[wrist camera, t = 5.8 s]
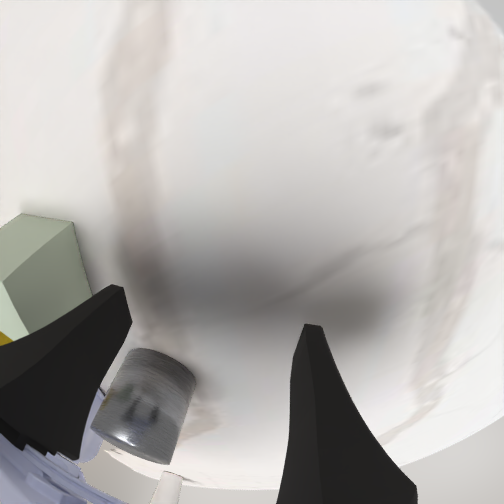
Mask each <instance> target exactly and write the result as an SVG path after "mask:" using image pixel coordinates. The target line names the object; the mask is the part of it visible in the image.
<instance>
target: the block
mask: <svg viewBox="0 0 504 504" xmlns="http://www.w3.org/2000/svg"><path fill="white" fill-rule="evenodd" d="M91 297H92V293H91V290H90V286H89V283H88V280H87V277H86V273H85V270H84V266H83V263H82V259H81V255H80V251H79V247H78V243H77V239H76V235H75V230H74V225H73V222H69V221H62V220H56V219H50V218H44V217H38V216H32V215H26V214H20V215H18V216H17V217H15V218H14V219H12V220H11V221H9V222H8V223H7V224H5V225H4V226H2V227H1V228H0V331H1V332H2V333H4V334H5V335H6V336H8V337H9V338H10V339H12V340H13V341H15V340H17V339H20V338H22V337H24V336H27V335H29V334H31V333H33V332H35V331H37V330H39V329H41V328H43V327H45V326H46V325H48V324H50V323H52V322H53V321H55V320H56V319H58V318H60V317H61V316H63V315H64V314H66V313H68V312H69V311H71V310H72V309H74V308H75V307H77V306H78V305H80V304H81V303H83V302H84V301H86V300H88V299H89V298H91Z"/></svg>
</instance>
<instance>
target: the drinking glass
mask: <svg viewBox="0 0 504 504" xmlns="http://www.w3.org/2000/svg"><path fill="white" fill-rule="evenodd" d="M182 481H183V478H182V477H181V476H179V475H176V474H173V473H170V472H165V471H164V472H163V473H162V475H161V478H160V481H159V483H158V485H157V488H156V490H155V492H154V494H153V497H152V499H151V501H150V503H149V504H178V500H179V494H180V490H181V485H182Z"/></svg>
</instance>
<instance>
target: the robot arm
mask: <svg viewBox="0 0 504 504" xmlns="http://www.w3.org/2000/svg"><path fill="white" fill-rule="evenodd" d="M131 325H132V319H131V315H130V311H129V308H128V304H127V300H126V296H125V292H124V288H123V287H120V286H116V285H113V284H111V285H110V286H108V287H106V288H104V289H103V290H101V291H100V292H98V293H97V294H95V295H94V296H92V297H91V298H89V299H88V300H86V301H84V302H83V303H81V304H80V305H78V306H77V307H75V308H74V309H72V310H71V311H69V312H68V313H66V314H64V315H63V316H61V317H60V318H58V319H56V320H55V321H53V322H52V323H50V324H48V325H46V326H45V327H43V328H41V329H39V330H37V331H35V332H33V333H31V334H29V335H27V336H24V337H22V338H20V339H17V340H15V341H13V342H10V343H7V344H4V345H1V346H0V501H1V503H0V504H87V501H86V500H88V501H90V502H91V503H93V504H128V503H126V502H123V501H121V500H119V499H117V498H114V497H112V496H110V495H108V494H106V493H104V492H102V491H100V490H98V489H97V488H95V487H93V486H91V485H89V484H87V483H86V480H85V478H84V475H83V473H82V472H81V471H80V470H81V468H79V467H78V466H77V465H75V464H74V463H76V464H78V463H79V462H88V461H90V460H92V459H93V458H94V457H95V456H96V455H97V453H98V451H99V449H100V446H101V444H102V442H103V440H104V439H103V438H101V437H100V436H99V435H97V434H96V433H95V432H94V431H93V430H92V429H91V428H90V426H91V423H92V421H93V419H94V417H95V415H96V413H97V411H98V409H99V407H100V405H101V403H102V401H103V399H104V395H103V394H102V392H101V391H100V389H99V386H100V384H101V382H102V380H103V378H104V376H105V375H106V373H107V371H108V369H109V368H110V366H111V364H112V362H113V361H114V359H115V357H116V355H117V354H118V352H119V350H120V348H121V347H122V345H123V343H124V341H125V339H126V337H127V334H128V332H129V329H130V327H131ZM60 454H61V455H62V456H64V457H66V458H68V459H69V460H71V461H72V462H74V463H72V462H70V461H69V460H67V459H66V458H64V457H62V456H61V455H60ZM83 498H84V499H86V500H84V499H83ZM417 498H418V494H417V488H416V485H415V484H414V483H413V482H412V481H411V480H410V479H409V478H408V477H407V476H406V475H405V474H404V473H403V472H402V471H401V470H400V469H399V468H398V466H397V465H396V464H395V463H394V462H393V461H392V459H391V458H390V457H389V456H388V455H387V453H386V452H385V451H384V449H383V448H382V446H381V445H380V444H379V442H378V441H377V440H376V438H375V437H374V436H373V434H372V433H371V431H370V430H369V428H368V427H367V425H366V423H365V422H364V420H363V418H362V417H361V415H360V413H359V412H358V410H357V408H356V406H355V404H354V403H353V401H352V399H351V397H350V395H349V393H348V391H347V389H346V387H345V384H344V382H343V380H342V378H341V376H340V373H339V371H338V369H337V366H336V364H335V361H334V359H333V356H332V354H331V351H330V349H329V346H328V343H327V340H326V337H325V334H324V331H323V328H322V327H321V326H318V325H311V324H304V327H303V330H302V333H301V336H300V339H299V341H298V344H297V347H296V350H295V353H294V356H293V362H292V370H291V378H290V422H289V439H288V446H287V453H286V459H285V465H284V470H283V476H282V480H281V485H280V490H279V494H278V499H277V503H276V504H418V503H417V501H418V499H417Z"/></svg>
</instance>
